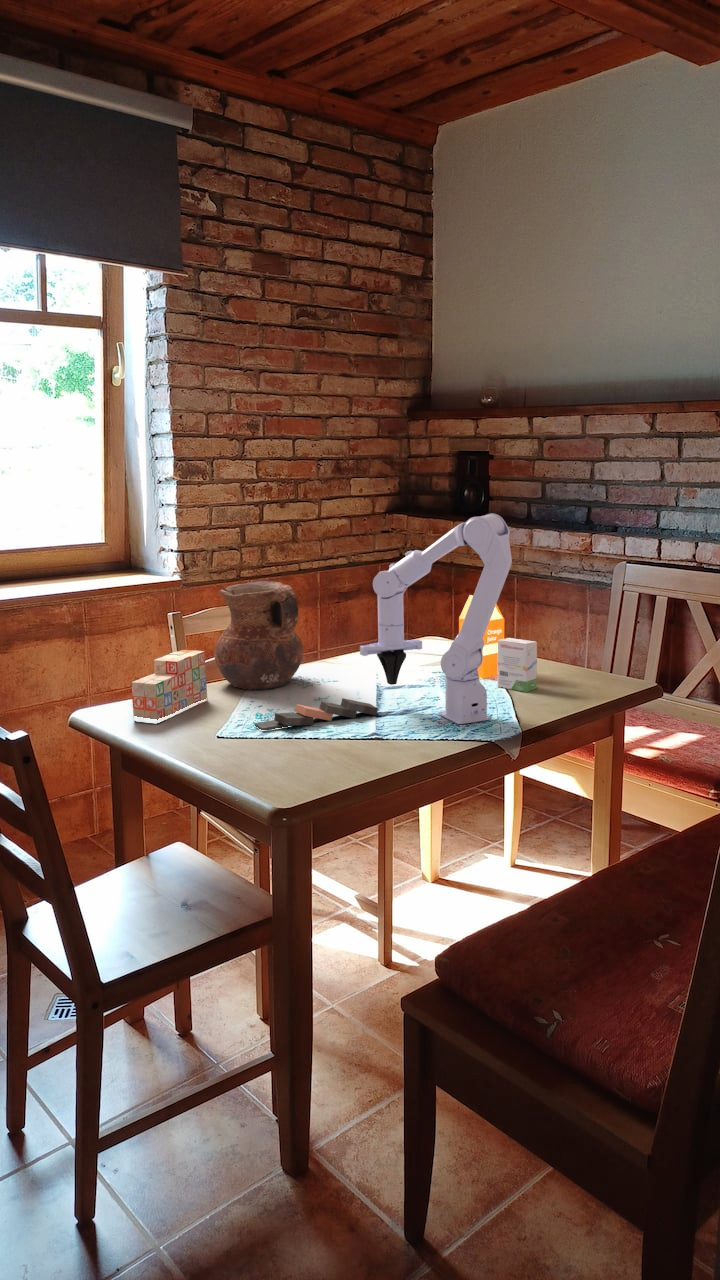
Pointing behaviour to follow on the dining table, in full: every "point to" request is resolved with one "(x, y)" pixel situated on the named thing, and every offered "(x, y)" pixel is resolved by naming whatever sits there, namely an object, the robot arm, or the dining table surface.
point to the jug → (259, 636)
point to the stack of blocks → (171, 685)
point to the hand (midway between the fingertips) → (391, 683)
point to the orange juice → (488, 640)
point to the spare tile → (313, 712)
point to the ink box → (517, 664)
